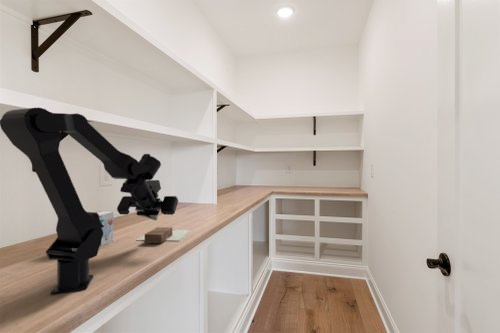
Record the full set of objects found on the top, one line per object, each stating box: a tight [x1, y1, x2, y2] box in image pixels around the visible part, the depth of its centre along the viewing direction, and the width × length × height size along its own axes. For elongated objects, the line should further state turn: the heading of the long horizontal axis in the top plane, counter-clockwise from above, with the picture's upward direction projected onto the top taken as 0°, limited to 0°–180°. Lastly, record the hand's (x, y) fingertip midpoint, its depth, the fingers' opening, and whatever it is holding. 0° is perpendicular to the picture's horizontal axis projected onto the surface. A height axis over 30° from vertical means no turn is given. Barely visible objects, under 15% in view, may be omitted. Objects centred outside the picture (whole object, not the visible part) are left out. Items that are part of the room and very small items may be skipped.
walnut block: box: [144, 226, 173, 244], centre depth 89 cm, size 3×6×10 cm
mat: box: [135, 229, 192, 242], centre depth 95 cm, size 14×16×1 cm
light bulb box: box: [72, 210, 115, 250], centre depth 84 cm, size 11×7×11 cm, turn 168°
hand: (156, 219), depth 87 cm, fingers closed
